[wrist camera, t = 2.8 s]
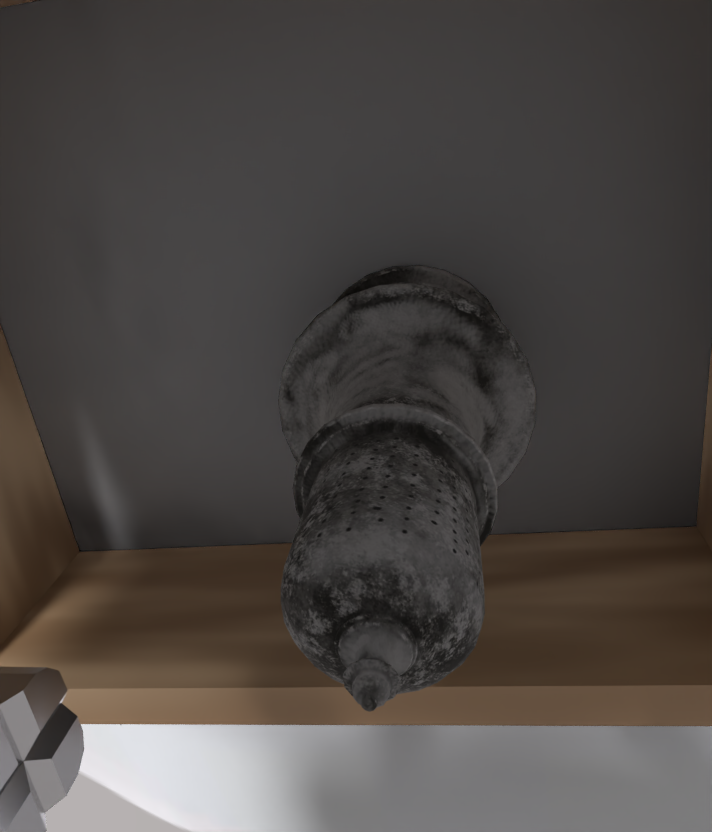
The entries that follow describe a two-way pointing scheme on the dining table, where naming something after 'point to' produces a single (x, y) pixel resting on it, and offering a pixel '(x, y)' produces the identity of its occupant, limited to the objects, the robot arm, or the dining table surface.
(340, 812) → the dining table surface
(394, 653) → the dark grey turned piece
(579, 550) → the cold frame
